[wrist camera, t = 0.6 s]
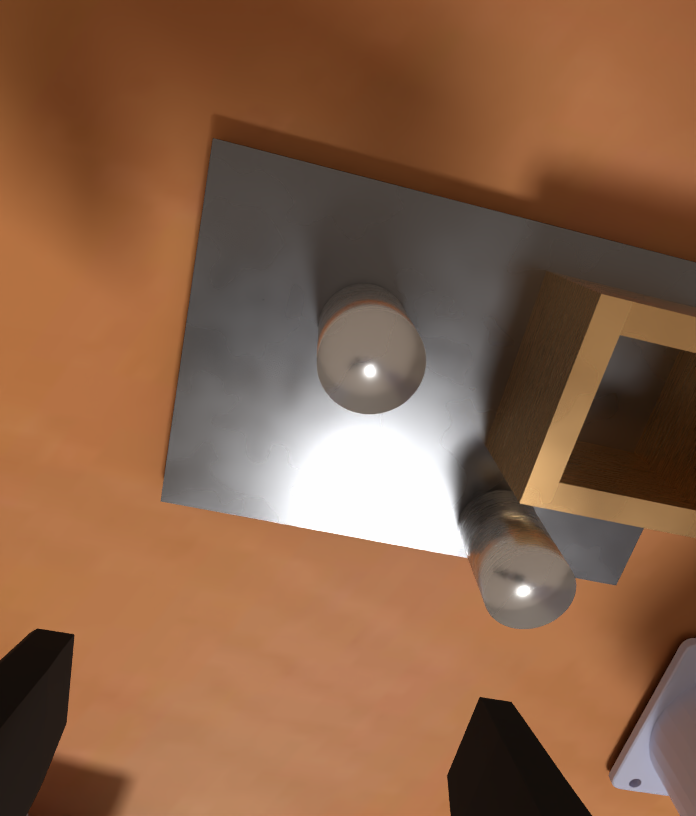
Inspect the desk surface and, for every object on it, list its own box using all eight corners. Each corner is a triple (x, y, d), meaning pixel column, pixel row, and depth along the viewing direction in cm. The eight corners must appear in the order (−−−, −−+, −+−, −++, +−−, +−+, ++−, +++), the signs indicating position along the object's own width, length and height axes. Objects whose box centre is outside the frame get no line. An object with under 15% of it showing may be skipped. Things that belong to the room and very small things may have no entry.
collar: (722, 314, 18) (817, 347, 14) (646, 478, 19) (712, 541, 16) (546, 270, 17) (601, 294, 14) (485, 445, 19) (519, 503, 15)
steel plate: (745, 275, 18) (763, 279, 17) (605, 571, 22) (616, 585, 21) (218, 139, 16) (212, 137, 15) (166, 489, 20) (160, 501, 19)
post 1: (417, 295, 17) (439, 323, 14) (394, 378, 18) (409, 423, 15) (329, 273, 17) (329, 297, 13) (309, 360, 18) (306, 402, 14)
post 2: (546, 498, 20) (589, 562, 16) (519, 562, 20) (556, 635, 17) (471, 483, 19) (501, 545, 16) (448, 549, 20) (472, 620, 17)
